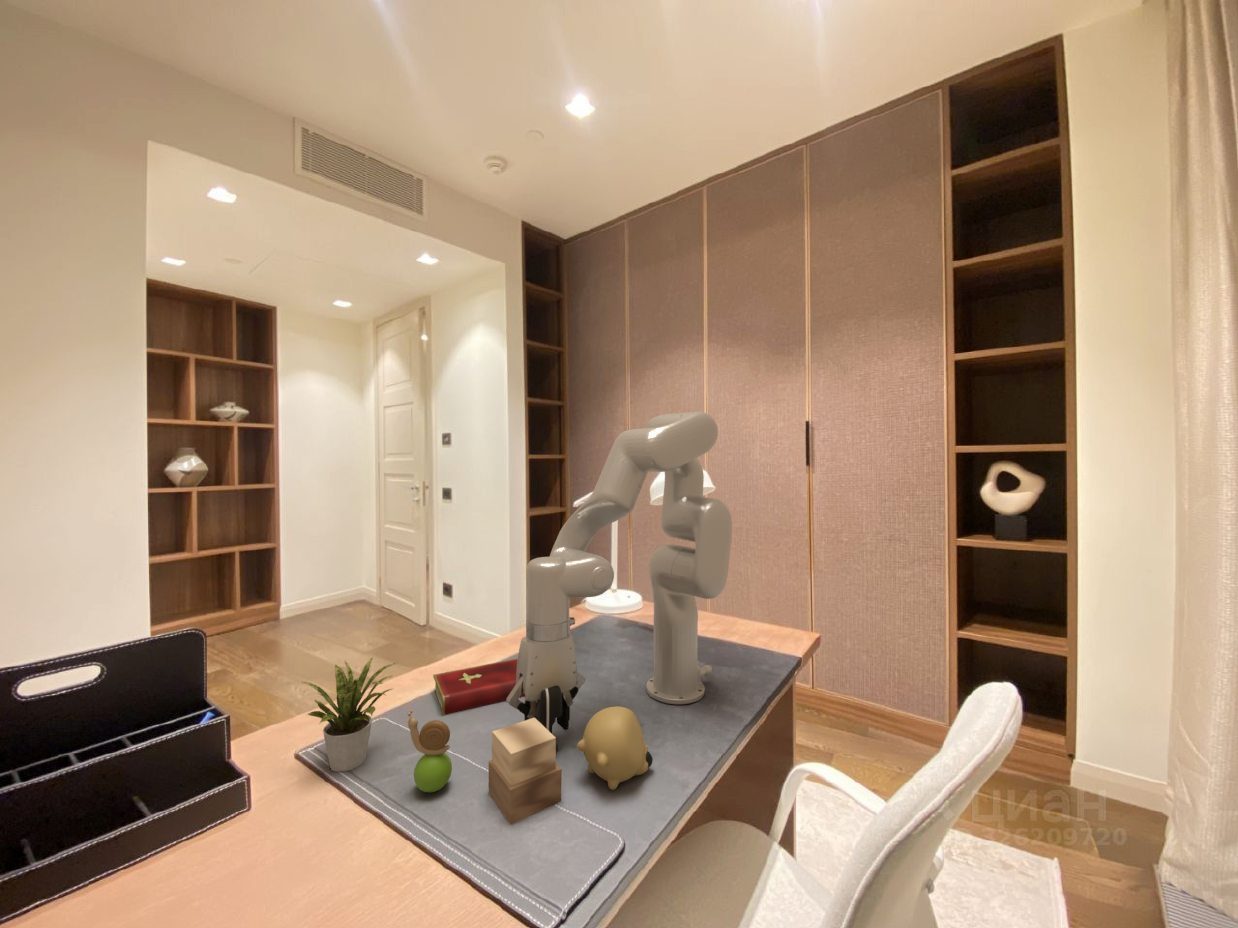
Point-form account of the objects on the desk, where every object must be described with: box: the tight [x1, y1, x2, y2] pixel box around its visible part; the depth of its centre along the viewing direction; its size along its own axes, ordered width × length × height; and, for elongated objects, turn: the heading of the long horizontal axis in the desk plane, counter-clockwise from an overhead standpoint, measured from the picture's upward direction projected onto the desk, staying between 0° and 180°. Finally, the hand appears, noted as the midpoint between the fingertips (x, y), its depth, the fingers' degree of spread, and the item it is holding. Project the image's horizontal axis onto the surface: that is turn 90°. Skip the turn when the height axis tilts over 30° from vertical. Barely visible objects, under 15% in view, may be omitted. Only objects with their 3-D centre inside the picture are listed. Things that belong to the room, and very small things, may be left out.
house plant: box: [301, 657, 397, 772], centre depth 81 cm, size 14×14×16 cm
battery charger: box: [535, 686, 562, 752], centre depth 86 cm, size 7×4×11 cm, turn 25°
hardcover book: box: [432, 657, 525, 716], centre depth 106 cm, size 12×21×4 cm, turn 119°
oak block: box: [491, 717, 557, 786], centre depth 73 cm, size 7×7×4 cm
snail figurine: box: [407, 709, 453, 793], centre depth 75 cm, size 5×6×12 cm
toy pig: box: [576, 706, 654, 790], centre depth 78 cm, size 10×12×11 cm
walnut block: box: [488, 759, 562, 825], centre depth 73 cm, size 8×8×5 cm
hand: (547, 730), depth 87 cm, fingers open, 5 cm apart
